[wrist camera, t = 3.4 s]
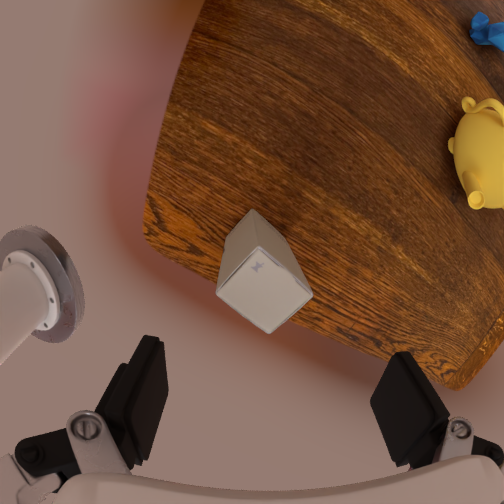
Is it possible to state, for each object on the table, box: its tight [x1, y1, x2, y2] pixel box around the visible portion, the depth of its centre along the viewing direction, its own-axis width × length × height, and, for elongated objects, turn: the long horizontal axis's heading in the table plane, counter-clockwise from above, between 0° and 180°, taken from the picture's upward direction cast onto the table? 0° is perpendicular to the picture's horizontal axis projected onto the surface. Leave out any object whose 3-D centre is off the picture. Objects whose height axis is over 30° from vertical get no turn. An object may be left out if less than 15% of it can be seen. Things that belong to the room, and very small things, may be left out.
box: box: [216, 209, 313, 334], centre depth 23 cm, size 5×4×13 cm
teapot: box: [448, 97, 504, 209], centre depth 21 cm, size 14×14×11 cm
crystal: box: [469, 12, 504, 52], centre depth 16 cm, size 7×9×12 cm
